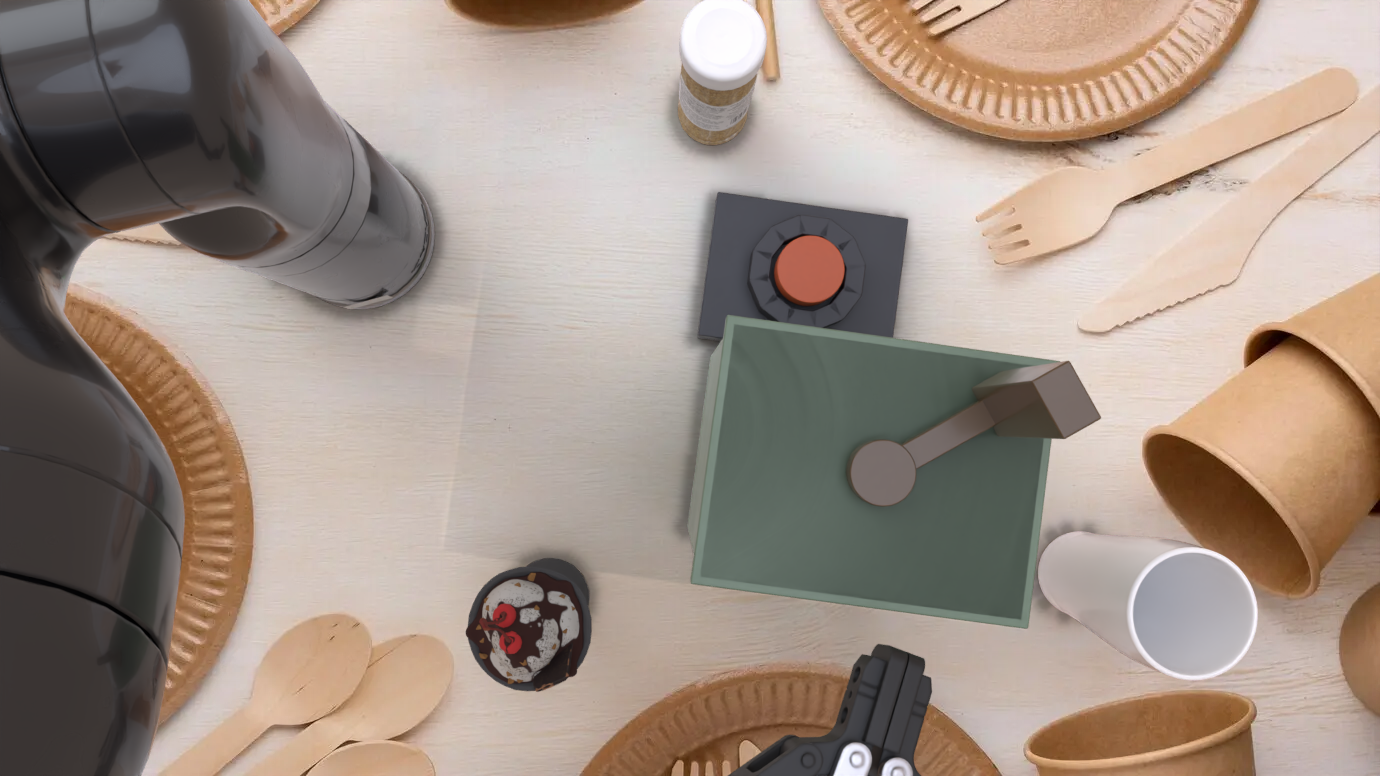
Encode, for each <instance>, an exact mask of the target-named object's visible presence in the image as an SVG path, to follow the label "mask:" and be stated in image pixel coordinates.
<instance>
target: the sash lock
mask: <svg viewBox="0 0 1380 776" xmlns="http://www.w3.org/2000/svg"><path fill="white" fill-rule="evenodd" d="M972 391H973V393H974V395H975V397H976V398H977V400H978V401H976V402H974V403H972V404H971V405H969V406H967V407H965V408H963V409H962V410H960V411H958V412H956V413H955V414H953V415H951V416H949V417H947V418H946V419H944V420H942V421H940V422H939V423H937V424H935V425H933V426H931V427H930V428H928V429H926V430H924V431H922V432H921V433H919V434H917V435H915V436H914V437H912V438H910V439H908V440H906V441H905V442H903V443H901V444H899V443H897V442H894V441H891V440H884V439H874V440H870V441H867V442H864V443H863V444H861V445H859V446H858V447H857V448H856V449H855V450H854V451H853V453H852V454H851V456H850V458H849V460H848V463H847V467H846V477H847V481H848V484H849V486H850V488H851V490H852V491H853V493H854V494H855V495H856V496H857V497H858V498H859V499H861V500H862V501H864V502H866V503H869V504H872V505H875V506H880V507H887V506H892V505H895V504H897V503H899V502H901V501H903V500H904V499H905V498H906V497H907V496H908V495H909V494H910V492H911V491H912V489H913V487H914V485H915V481H916V474H917V473H916V470H917V469H918V468H920V467H922V466H924V465H925V464H927V463H929V462H931V461H933V460H934V459H936V458H938V457H940V456H942V455H943V454H945V453H947V452H949V451H950V450H952V449H954V448H956V447H958V446H959V445H961V444H963V443H965V442H966V441H968V440H970V439H972V438H974V437H975V436H977V435H979V434H981V433H982V432H984V431H986V430H988V429H990V428H991V427H993V429H994V431H995V432H996V434H997V436H998V437H1020V438H1047V439H1052V440H1066V439H1068V438H1070V437H1071V436H1073V435H1075V434H1077V433H1078V432H1081V431H1083V430H1084V429H1086V428H1088V427H1089V426H1091V425H1093V424H1094V423H1097V422H1098V421H1100V420H1102V416H1101V414H1100V412H1099V410H1098V408H1097V407H1096V405H1095V404H1094V402H1093V400H1092V398H1091V396H1090V394H1089V393H1088V391H1087V389H1086V388H1085V385H1084V383H1083V381H1082V380H1081V379H1080V377H1079V375H1078V373H1077V371H1076V369H1075V368H1074V366H1073V364H1072V362H1071V361H1070V360H1064V361H1063V360H1062V361H1060V362H1057V363H1050V364H1044V365H1037V366H1031V367H1025V368H1018V369H1012V370H1006V371H1001V372H999V373H997V374H995V375H994V376H992V377H990V378H988V379H987V380H985V381H983V382H981V383H979V384H978V385H976V386H974V387H972Z"/></svg>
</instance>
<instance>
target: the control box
mask: <svg viewBox="0 0 1380 776" xmlns="http://www.w3.org/2000/svg"><path fill="white" fill-rule="evenodd" d="M713 210H714V211H713V217H712V224H711V233H710V239H709V240H710V241H709V247H708V255H707V262H706V268H705V270H706V271H705V276H704V284H703V291H702V299H701V306H700V311H699V312H700V313H699V321H698V328H697V333H696V334H697V336H696V338H697V339H702V340H709V341H710V340H711V341H716V342H721V340H722V339H723V335H724V328H725V320H726V317H727V315H733V316H740V317H747V318H754V319H762V320H769V321H776V322H783V323H790V324H798V325H805V326H812V327H819V328H826V329H833V330H841V331H848V332H855V333H862V334H869V335H877V336H884V337H891V338H894V333H895V325H896V317H897V312H898V311H897V310H898V303H899V294H900V288H901V280H902V273H903V272H902V270H903V264H904V255H905V249H906V242H907V241H906V240H907V234H908V225H909V219H908V218H906V217H898V216H892V215H884V214H876V213H870V212H863V211H855V210H849V209H841V208H835V207H827V206H821V205H813V204H806V203H799V202H793V201H786V200H778V199H772V198H771V199H770V198H766V197H765V198H764V197H757V196H750V195H743V194H737V193H736V194H735V193H729V192H722V191H718V192H717V194H716V198H715V203H714V209H713ZM803 236H818V237H822V238H824V239H826V240H828V241H830V242H831V243H832V244H833V245H835V247H836V248H837V249H838V250H839V252H840V254H841V256H842V258H843V261H844V268H845V271H844V278H843V281H842V283H841V286H840V287H839V289H838V290H837V291H836V292H835V294H833V295H832V296H831V297H830V298H828V299H827V300H826V301H824V302H822V303H820V304H817V305H813V306H801V305H797V304H794V303H792V302H790V301H789V300H788V299H786V298H785V297H784V296H783V295H782V294H781V292H780V291H779V289H778V287H777V285H776V282H775V278H774V268H775V264H776V261H777V259H778V257H779V255H780V254H781V252H782V251H783V249H784V248H785V247H786V246H787V245H788V244H789V243H790V242H792V241H793V240H795V239H797V238H799V237H803Z"/></svg>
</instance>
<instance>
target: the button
mask: <svg viewBox="0 0 1380 776" xmlns="http://www.w3.org/2000/svg"><path fill="white" fill-rule="evenodd" d="M844 271H845V268H844V261H843V258H842V256H841V254H840V252H839V250H838V249H837V248H836V247H835V245H833V244H832V243H831V242H830V241H828V240H826V239H824V238H822V237H818V236H803V237H799V238H797V239H795V240H793V241H792V242H790V243H789V244H788V245H787V246H786V247H785V248H784V249H783V251H782V252H781V254H780V255H779V257H778V259H777V261H776V264H775V268H774V278H775V282H776V285H777V287H778V289H779V291H780V292H781V294H782V295H783V296H784V297H785V298H786V299H788V300H789V301H790V302H792V303H794V304H797V305H801V306H813V305H817V304H820V303H822V302H824V301H826V300H827V299H828V298H830V297H831V296H832V295H833V294H835V292H836V291H837V290H838V289H839V287H840V286H841V283H842V281H843V278H844Z"/></svg>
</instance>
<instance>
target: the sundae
mask: <svg viewBox="0 0 1380 776" xmlns="http://www.w3.org/2000/svg"><path fill="white" fill-rule="evenodd" d="M589 606H590V590H589V587H588V583H587V581H586V578H585V577H584V575H583V574H582V572H581V571H580V570H579V569H578V568H577V567H576V566H575V565H573V564H572V563H570V562H568V561H566V560H563V559H560V558H555V557H554V558H553V557H549V558H548V557H547V558H546V557H545V558H540V559H538V560H535V561H532V562H530V563H529V564H527V565H526V566H519V567H515V568H512V569H511V568H510V569H507V570H504V571H502V572H500V573H497V574H496V575H494V576H493V577H492V578H490V579H489V580H488V581H487V582H486V583H485V584H484V585H483V586H482V588H481V589H480V590H479V591H478V592H477V594H476V596H475V598H474V601H473V603H472V605H471V608H470V610H469V613H468V621H467V627H466V629H465V636H466V638H467V641H468V644H469V647H470V651H471V654H472V656H473V658H474V659H475V662H476V663H477V664H478V665H479V667H480V668H481V670H482V671H484V672H485V674H486V675H487V676H488V677H490V678H491V679H492V680H493V681H494V682H496V683H498V684H500V685H502V686H503V687H506V688H509V689H511V690H514V691H521V692H535V693H539V692H543V691H546V690H548V689H551V688H553V687H555V686H557V685H559V684H562V683H564V682H566V681H567V680H568V679H569V678H573V677H575V676H576V675H577V674H578V669H580V666H581V665H582V664H583V663H584V660H585V659H586V656H587V654H588V651H589V648H590V646H591V641H592V629H593V627H592V625H593V624H592V615H591V611H590V607H589Z"/></svg>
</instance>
